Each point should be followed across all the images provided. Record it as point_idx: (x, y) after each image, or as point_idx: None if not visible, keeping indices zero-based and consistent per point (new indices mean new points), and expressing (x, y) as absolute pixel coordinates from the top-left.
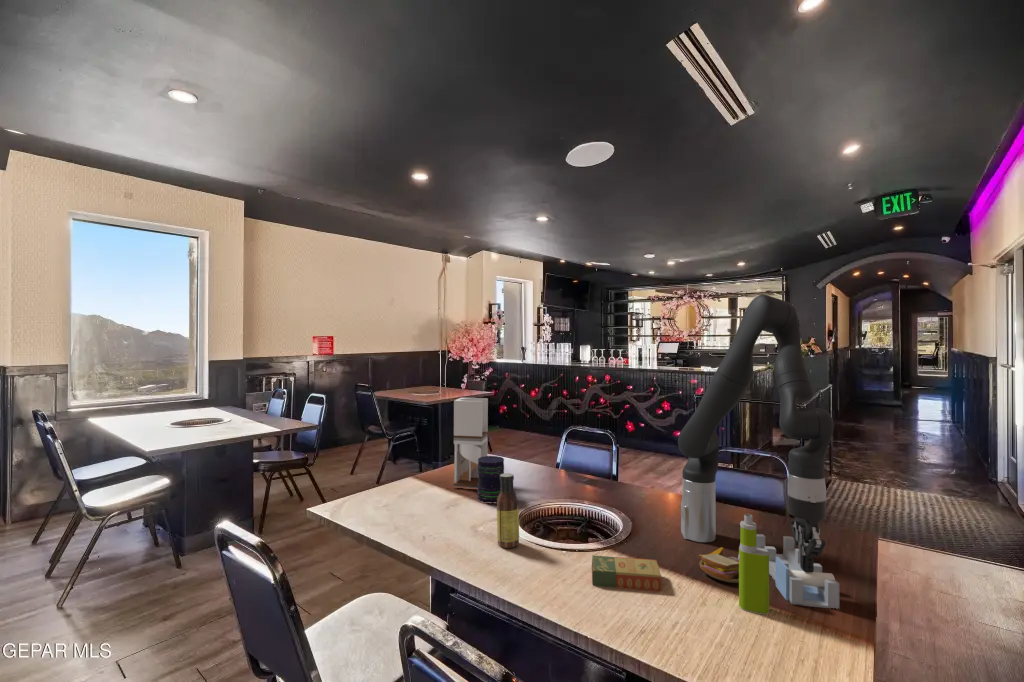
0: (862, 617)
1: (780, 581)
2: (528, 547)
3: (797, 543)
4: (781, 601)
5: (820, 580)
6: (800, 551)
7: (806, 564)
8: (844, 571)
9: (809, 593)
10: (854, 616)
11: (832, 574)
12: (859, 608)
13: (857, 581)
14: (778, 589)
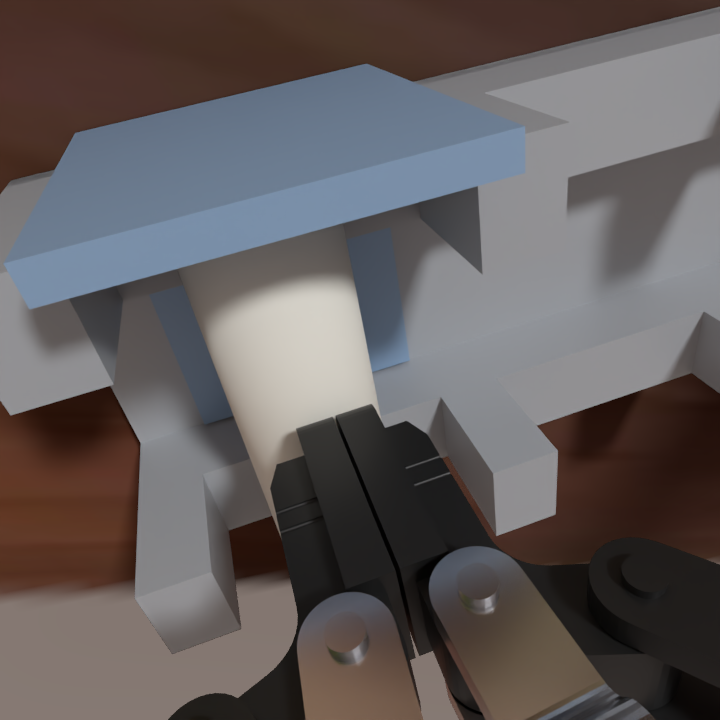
0: (133, 576)
1: (246, 117)
2: None
3: (613, 616)
4: (16, 78)
5: (272, 505)
6: (433, 584)
7: (282, 529)
8: (682, 495)
9: None
10: (118, 547)
11: None
12: (252, 560)
13: (580, 540)
14: (288, 82)
